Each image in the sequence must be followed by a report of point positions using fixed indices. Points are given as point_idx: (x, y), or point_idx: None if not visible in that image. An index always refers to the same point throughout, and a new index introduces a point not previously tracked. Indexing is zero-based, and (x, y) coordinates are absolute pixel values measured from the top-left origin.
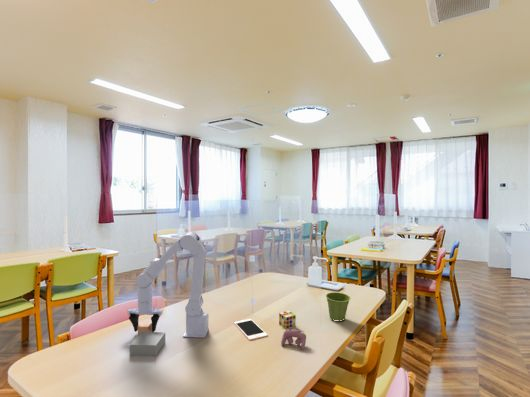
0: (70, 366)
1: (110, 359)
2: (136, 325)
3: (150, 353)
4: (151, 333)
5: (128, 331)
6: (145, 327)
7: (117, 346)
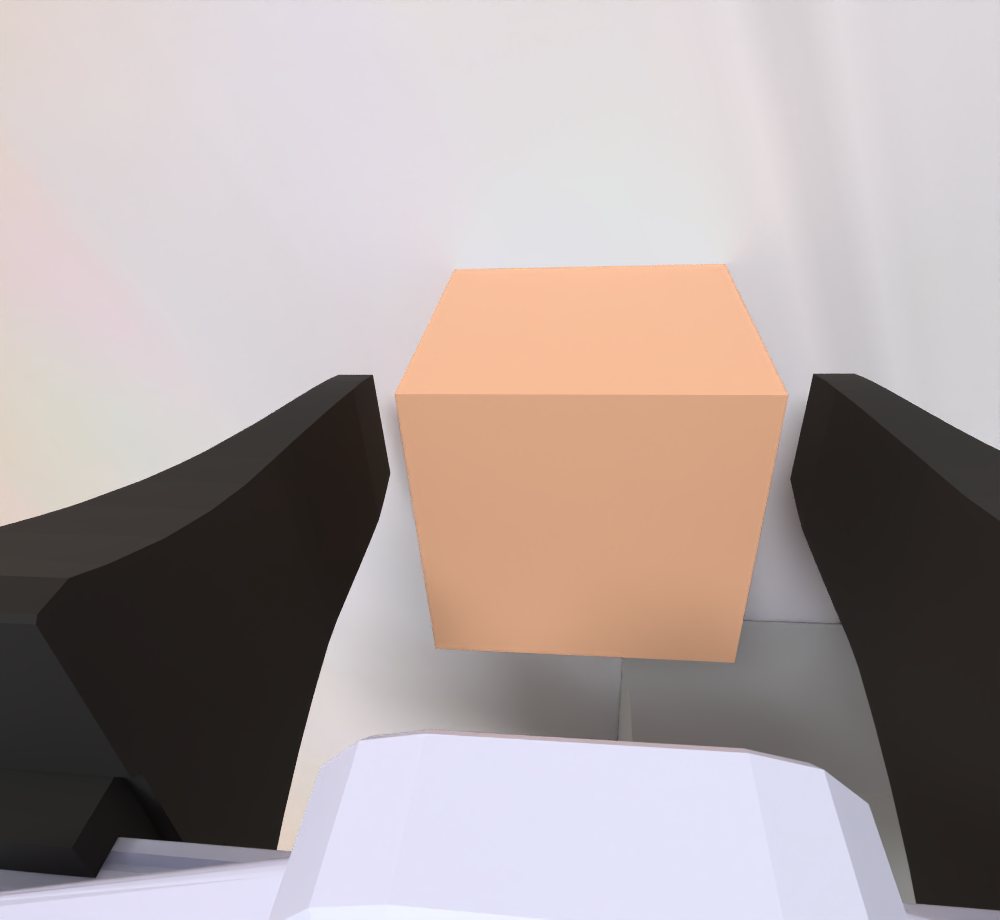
0: None
1: None
2: (338, 531)
3: None
4: (886, 827)
5: (137, 294)
6: (654, 638)
7: (339, 712)
